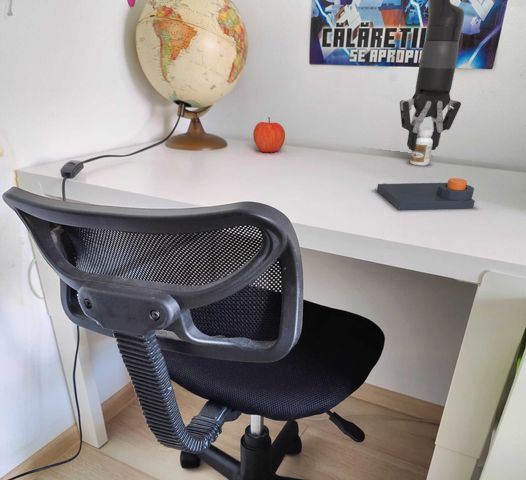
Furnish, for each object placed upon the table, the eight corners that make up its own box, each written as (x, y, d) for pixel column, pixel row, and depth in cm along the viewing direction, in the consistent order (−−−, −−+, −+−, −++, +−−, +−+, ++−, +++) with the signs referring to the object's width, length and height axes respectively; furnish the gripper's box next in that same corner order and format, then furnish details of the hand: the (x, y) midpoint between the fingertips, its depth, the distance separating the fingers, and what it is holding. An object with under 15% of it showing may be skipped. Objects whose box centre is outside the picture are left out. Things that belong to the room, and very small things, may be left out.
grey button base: (446, 189, 99) (449, 174, 97) (476, 208, 89) (480, 191, 87) (376, 191, 97) (378, 175, 95) (398, 210, 87) (401, 193, 85)
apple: (253, 154, 122) (253, 119, 118) (253, 148, 129) (253, 114, 124) (285, 155, 122) (286, 120, 118) (283, 148, 129) (285, 115, 125)
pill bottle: (406, 163, 117) (411, 128, 113) (416, 160, 120) (422, 126, 116) (422, 166, 115) (428, 131, 111) (432, 164, 117) (439, 128, 113)
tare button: (460, 186, 91) (462, 177, 90) (468, 191, 88) (470, 182, 88) (443, 186, 91) (445, 178, 90) (451, 191, 88) (453, 182, 87)
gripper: (412, 66, 102) (398, 153, 112) (477, 67, 104) (457, 152, 113) (399, 63, 108) (387, 146, 118) (460, 64, 110) (443, 145, 120)
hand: (421, 149), depth 116 cm, fingers closed on pill bottle, 4 cm apart
